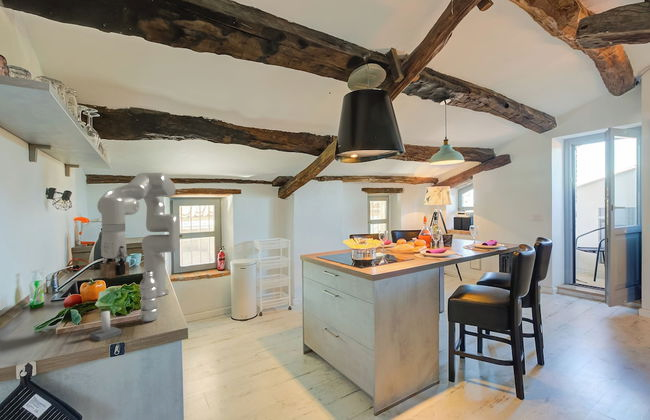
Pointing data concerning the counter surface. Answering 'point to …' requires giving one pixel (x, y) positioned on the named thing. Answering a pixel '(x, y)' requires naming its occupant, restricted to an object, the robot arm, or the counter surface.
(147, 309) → the plastic bottle
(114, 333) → the post base
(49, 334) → the counter surface
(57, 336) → the counter surface
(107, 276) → the wooden block with hole
